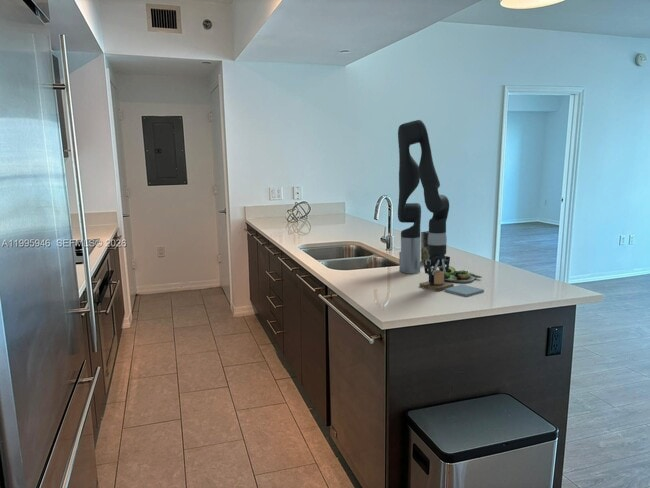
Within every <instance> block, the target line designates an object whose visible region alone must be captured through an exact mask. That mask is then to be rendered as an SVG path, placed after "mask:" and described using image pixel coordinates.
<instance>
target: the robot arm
mask: <svg viewBox="0 0 650 488" xmlns="http://www.w3.org/2000/svg"><path fill="white" fill-rule="evenodd" d="M427 129H428V128H427V127H426V124H425V123H424V121H423V120H422V119H421V120H420V119H416V120H412V121H408V122H404V123H402V124H400V125H398V129H397V142H398V153H399V156H398V157H399V162H398V163H399V164H398V165H399V167H398V205H397V219H398V222H400V223H407V224H409V223H412V224H413V225H411V226H410V227H408V228H405V229H402V230H401V231H400V251H399V252H398V253H399V259H398V261H399V272H401V273H403V274H410V275H412V274H419V273H421V221H422V220H421V219H422V206H421V204H420V203H419V202H411V203H410V202H407V201H408V199H409V198H410V196H411V195H412V194H413V193H414V191H416V189H417V187H418V186H419V184H420V183H421V186H422V189H423V198H424V204H425V207H426V209H427V211H429V212H430V213H432V217H431V218H430V219H429V221H428V231H429V235H428V254H429V255H430V257H429V259H428V260H424V262H423V267H424V273H425V274H426V275H428V281H429V283H431V284H434V273H435V270H442V271H444V279H445V272H446V270H449V266H450V259H451V257H450V256H448V255H446V254H447V221H448V220H447V219H448V216H449V210H450V202H449V201H450V200H449V199H448V196H446V195H445V194H439V188H440V186H441V183H440V180H439V176H438V173H437V171H436V167H435V165H434V161H433V156H432V155H433V154H432V149H431V144H430V139H429V133H428V130H427ZM415 144H419V145H420V150H421V151H420V153H421V154H420V159H419V164H418V163H417V161H416V160H415V159H414V157H412V155H411V153H410V147H411V146H412V145H415ZM445 266H446V267H445ZM431 271H432V272H431Z"/></svg>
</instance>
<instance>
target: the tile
mask: <svg viewBox="0 0 650 488" xmlns="http://www.w3.org/2000/svg"><path fill="white" fill-rule="evenodd" d="M444 292H445V293H449V294H453V295H457V296H461V297H465V298H467V297H471V296H472V297H473V296H474V295H475V296H476V295H478V294H481V293H484V292H485V289H484V288H478V287H474V286H470V285H466V284H464V283H460V284H458V285H455V286H454V287H450V288H446V289H445V290H444Z"/></svg>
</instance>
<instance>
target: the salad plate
mask: <svg viewBox="0 0 650 488" xmlns="http://www.w3.org/2000/svg"><path fill="white" fill-rule="evenodd" d="M445 267H446V265H445ZM481 278H483V277H482V276H480V275H477V274H474V273H472V272H469V271H467V270H464V269H462V270H456V268H454V267H453V266H451V265H449V270H446V272H445V279H444V282H448V283H453V284H455V283H457V284H465V283H468V284H469V283H472V282H474V280H476V279H481Z"/></svg>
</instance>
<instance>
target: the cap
mask: <svg viewBox="0 0 650 488" xmlns="http://www.w3.org/2000/svg"><path fill="white" fill-rule="evenodd" d="M431 272H432V270H431ZM434 284H444V271H442V270H439V269H436V270H435V273H434Z"/></svg>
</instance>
